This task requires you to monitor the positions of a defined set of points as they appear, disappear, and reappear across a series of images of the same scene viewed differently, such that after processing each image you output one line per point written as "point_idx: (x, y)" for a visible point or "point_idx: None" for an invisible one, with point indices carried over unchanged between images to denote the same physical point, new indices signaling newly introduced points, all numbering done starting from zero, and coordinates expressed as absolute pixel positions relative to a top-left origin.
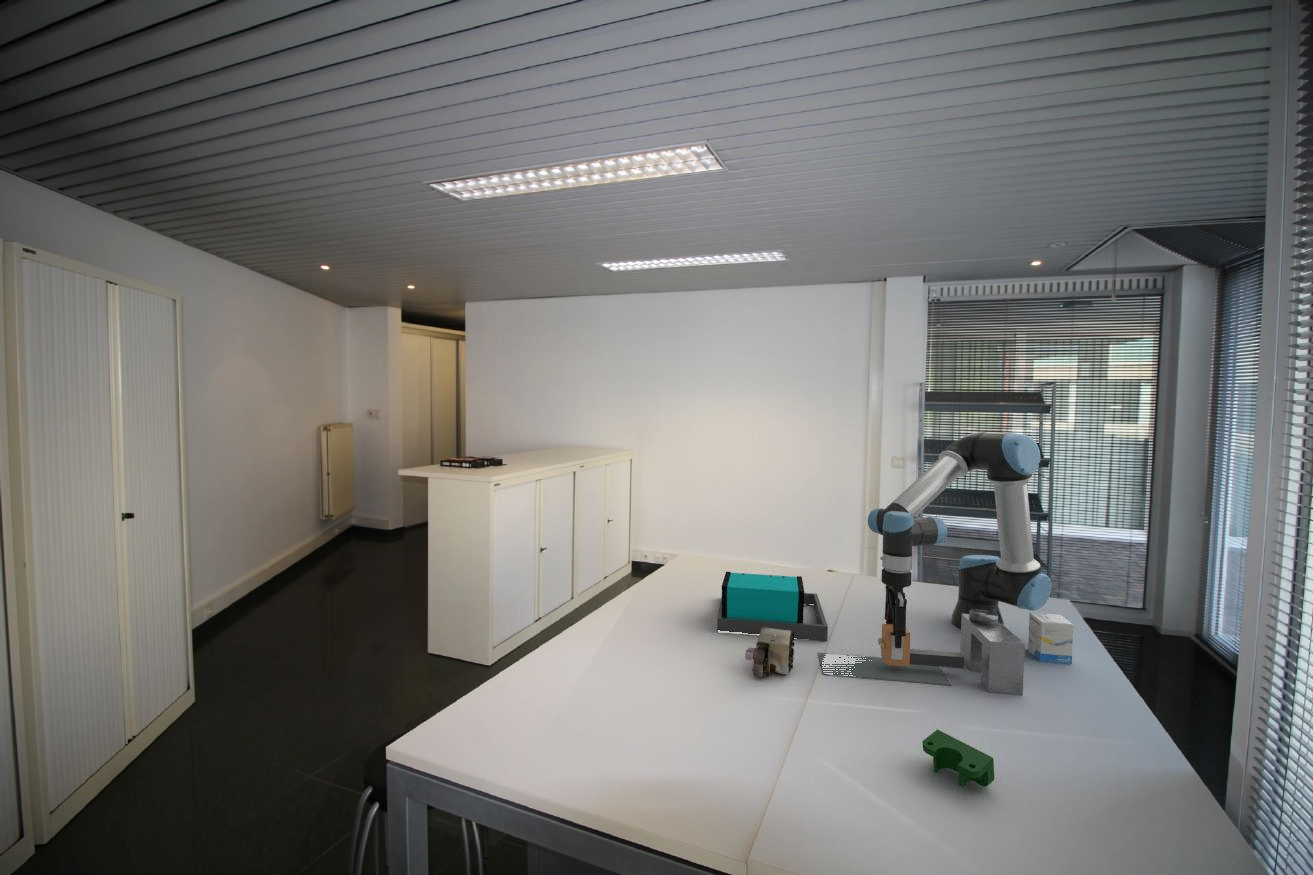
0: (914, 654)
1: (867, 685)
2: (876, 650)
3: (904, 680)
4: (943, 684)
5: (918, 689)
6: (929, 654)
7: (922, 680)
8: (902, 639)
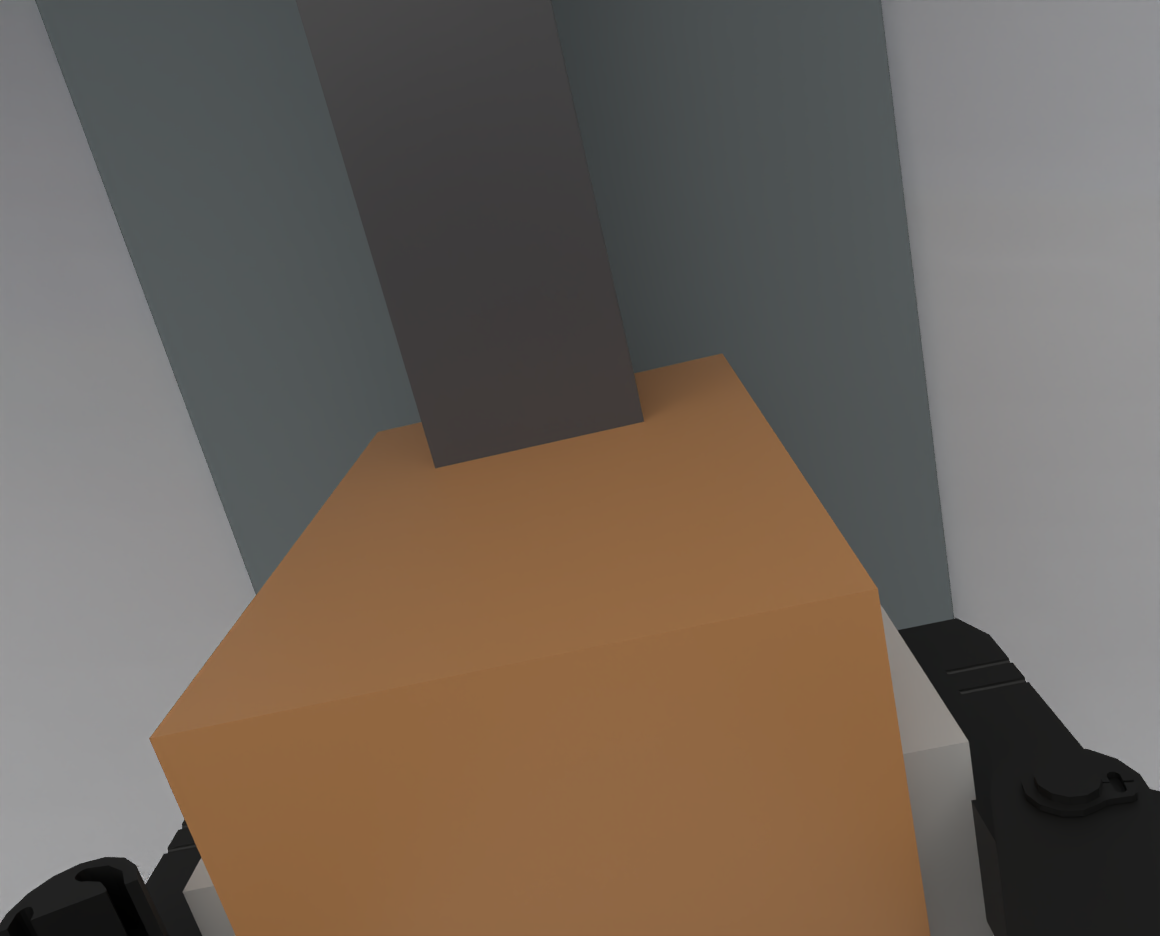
0: (618, 306)
1: (1153, 764)
2: (28, 715)
3: (923, 387)
4: None
5: (1113, 210)
6: (540, 4)
7: (851, 150)
8: (931, 691)
